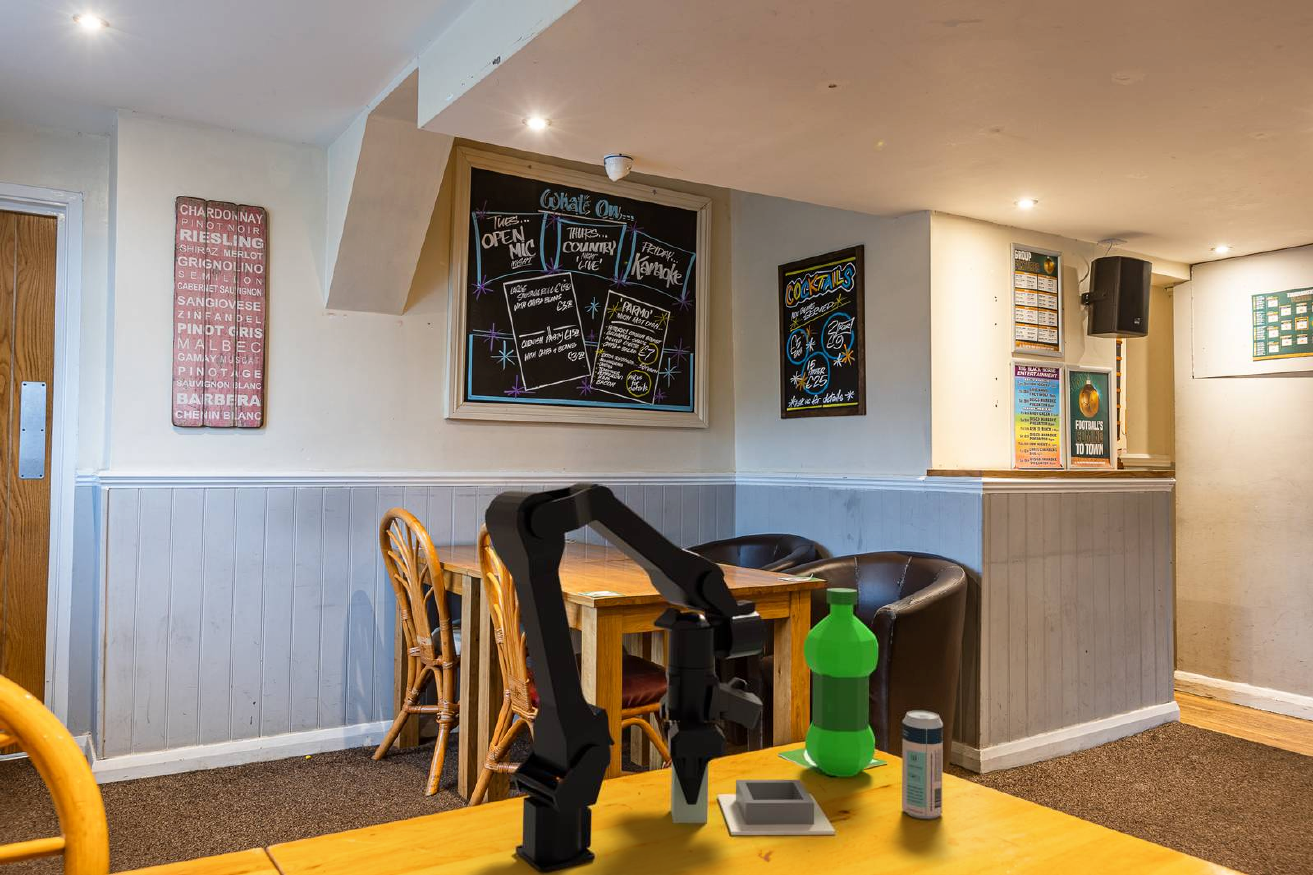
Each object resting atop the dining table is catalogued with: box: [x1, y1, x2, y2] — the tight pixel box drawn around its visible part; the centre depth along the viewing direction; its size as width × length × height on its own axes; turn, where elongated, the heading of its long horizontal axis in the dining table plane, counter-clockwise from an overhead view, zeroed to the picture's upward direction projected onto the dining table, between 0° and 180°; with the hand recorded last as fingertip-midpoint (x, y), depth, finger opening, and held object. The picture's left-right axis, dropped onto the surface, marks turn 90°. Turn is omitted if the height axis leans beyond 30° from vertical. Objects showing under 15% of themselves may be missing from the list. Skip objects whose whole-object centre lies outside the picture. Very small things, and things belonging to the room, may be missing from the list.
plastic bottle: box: [803, 587, 879, 778], centre depth 130 cm, size 10×10×25 cm
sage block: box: [670, 762, 709, 824], centre depth 112 cm, size 4×4×8 cm
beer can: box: [901, 710, 944, 820], centre depth 114 cm, size 5×5×12 cm
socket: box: [717, 779, 836, 836], centre depth 112 cm, size 12×12×3 cm
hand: (689, 795), depth 111 cm, fingers open, 6 cm apart
